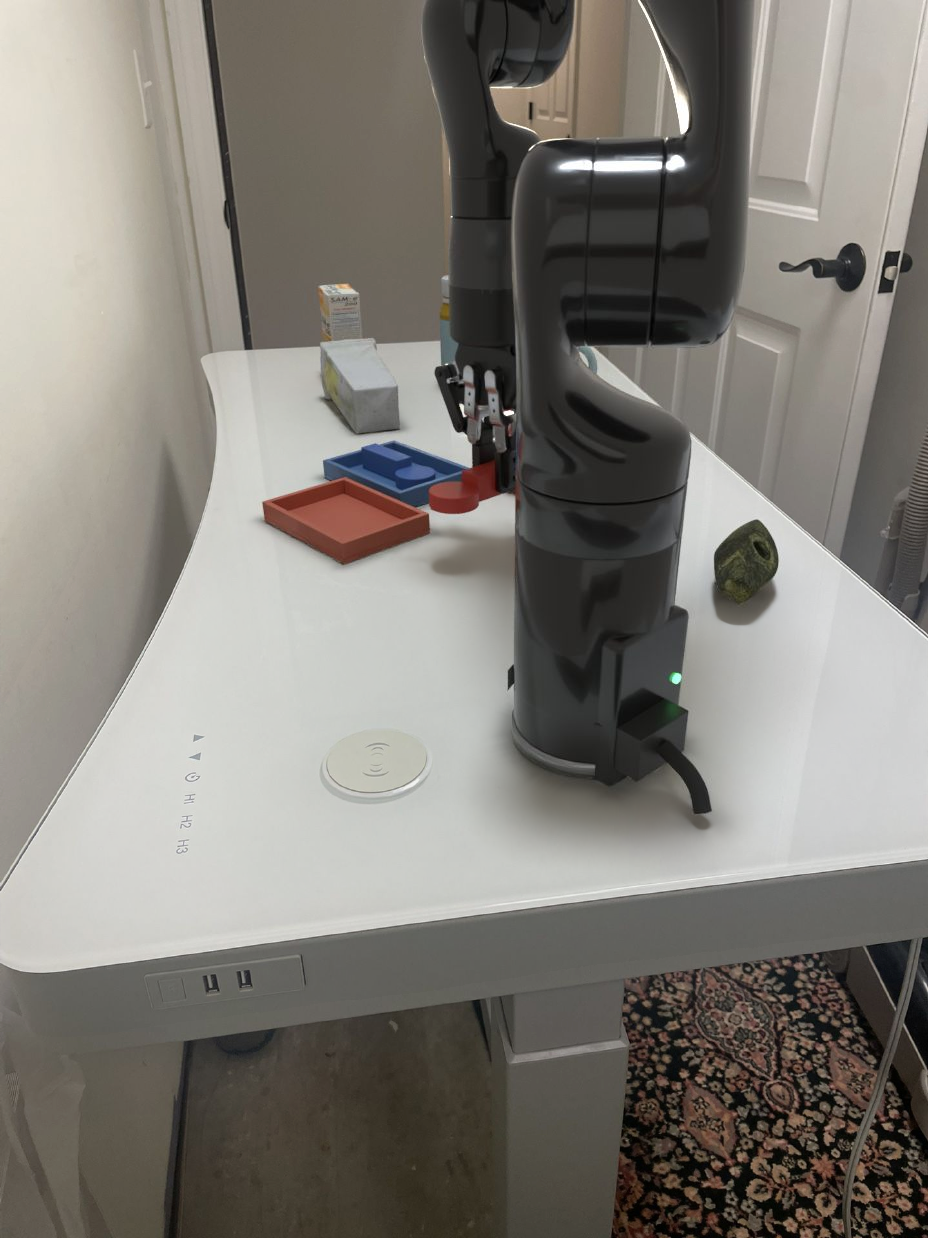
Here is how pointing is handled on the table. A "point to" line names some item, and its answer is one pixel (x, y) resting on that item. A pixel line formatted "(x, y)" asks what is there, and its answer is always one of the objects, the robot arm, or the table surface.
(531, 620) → the robot arm
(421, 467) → the blue spoon
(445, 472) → the blue tray
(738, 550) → the decorative stone
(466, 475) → the red spoon
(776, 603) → the table surface
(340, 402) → the block
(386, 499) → the red tray
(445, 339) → the bottle
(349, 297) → the supplement box
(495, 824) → the table surface
